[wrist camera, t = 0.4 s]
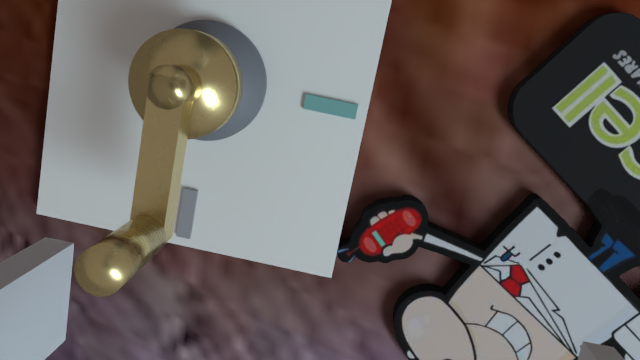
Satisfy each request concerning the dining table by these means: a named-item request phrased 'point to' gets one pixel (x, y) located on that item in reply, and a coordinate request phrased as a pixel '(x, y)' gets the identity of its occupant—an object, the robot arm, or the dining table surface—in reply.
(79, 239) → the dining table surface
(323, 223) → the post board
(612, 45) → the sign
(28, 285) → the robot arm
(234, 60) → the brass lever knob
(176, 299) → the dining table surface
